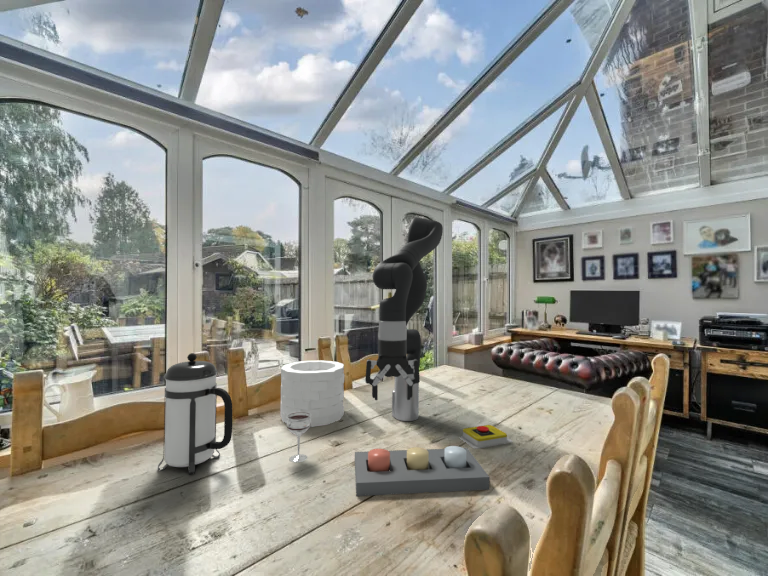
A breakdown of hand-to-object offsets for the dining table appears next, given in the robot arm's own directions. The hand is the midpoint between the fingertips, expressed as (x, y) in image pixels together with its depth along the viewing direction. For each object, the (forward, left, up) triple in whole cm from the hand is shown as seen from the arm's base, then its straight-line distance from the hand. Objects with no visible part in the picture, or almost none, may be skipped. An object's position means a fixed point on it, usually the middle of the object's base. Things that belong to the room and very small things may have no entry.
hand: (392, 399), depth 93 cm
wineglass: (-25, -11, -19) cm, 33 cm away
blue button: (+13, +10, -17) cm, 24 cm away
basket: (-49, +14, -19) cm, 54 cm away
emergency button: (+11, +36, -20) cm, 42 cm away
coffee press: (-44, -31, -19) cm, 57 cm away
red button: (-1, -4, -17) cm, 18 cm away
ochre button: (+6, +3, -17) cm, 18 cm away
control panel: (+6, +3, -19) cm, 20 cm away
